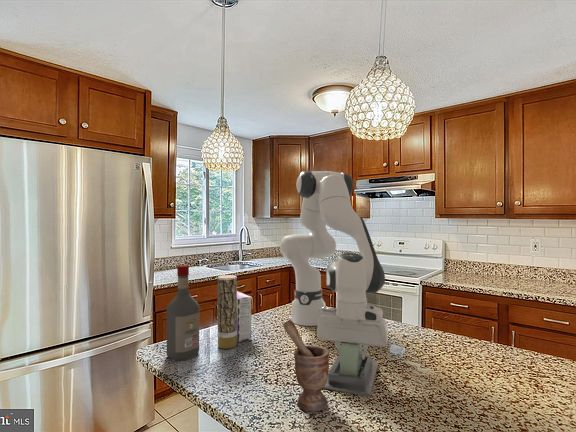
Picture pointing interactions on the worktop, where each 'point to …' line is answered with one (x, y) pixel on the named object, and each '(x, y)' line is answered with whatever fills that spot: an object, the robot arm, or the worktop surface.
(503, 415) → the worktop surface
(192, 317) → the liquor
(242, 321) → the candy box
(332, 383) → the duct collar
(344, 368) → the block
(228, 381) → the worktop surface
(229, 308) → the paper tube
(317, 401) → the mortar and pestle
